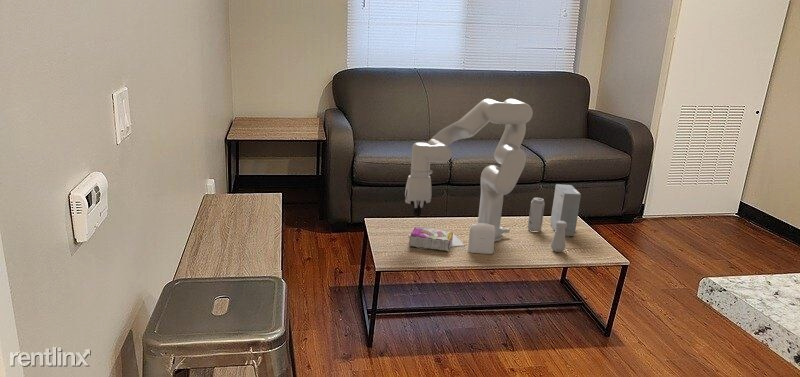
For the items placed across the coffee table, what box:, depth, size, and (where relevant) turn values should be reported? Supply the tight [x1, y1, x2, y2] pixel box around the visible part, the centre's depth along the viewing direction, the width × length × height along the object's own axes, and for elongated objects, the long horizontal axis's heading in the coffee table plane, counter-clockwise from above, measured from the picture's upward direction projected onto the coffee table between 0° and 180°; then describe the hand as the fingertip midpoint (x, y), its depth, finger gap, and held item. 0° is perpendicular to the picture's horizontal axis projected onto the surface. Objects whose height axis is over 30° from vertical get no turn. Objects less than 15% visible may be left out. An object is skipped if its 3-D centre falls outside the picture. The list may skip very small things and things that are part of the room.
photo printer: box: [467, 222, 495, 255], centre depth 228 cm, size 10×4×12 cm, turn 87°
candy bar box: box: [408, 226, 454, 252], centre depth 233 cm, size 11×5×16 cm
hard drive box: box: [549, 183, 582, 237], centre depth 256 cm, size 16×8×20 cm, turn 179°
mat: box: [407, 233, 466, 250], centre depth 239 cm, size 20×15×1 cm
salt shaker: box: [550, 221, 567, 253], centre depth 234 cm, size 6×6×13 cm
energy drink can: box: [527, 196, 546, 232], centre depth 255 cm, size 6×6×15 cm
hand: (416, 216), depth 234 cm, fingers closed
